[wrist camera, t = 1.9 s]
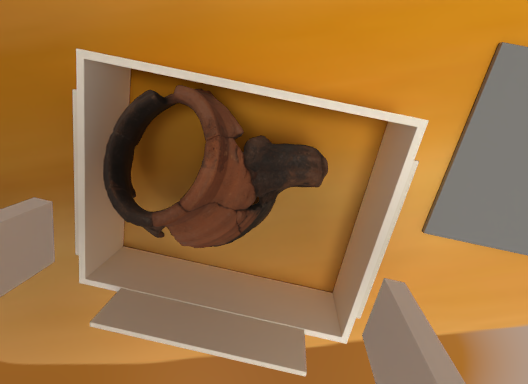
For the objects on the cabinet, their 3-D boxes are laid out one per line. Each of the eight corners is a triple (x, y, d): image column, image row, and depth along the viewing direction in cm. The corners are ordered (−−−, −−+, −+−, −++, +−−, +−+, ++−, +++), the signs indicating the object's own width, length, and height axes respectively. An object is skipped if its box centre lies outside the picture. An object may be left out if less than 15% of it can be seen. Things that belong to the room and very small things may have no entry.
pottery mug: (187, 248, 22) (87, 257, 15) (183, 133, 24) (91, 87, 16) (345, 235, 18) (319, 239, 10) (328, 96, 20) (293, 10, 12)
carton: (114, 248, 23) (35, 314, 16) (120, 59, 18) (14, 33, 11) (339, 299, 22) (362, 390, 15) (401, 116, 18) (472, 127, 11)
